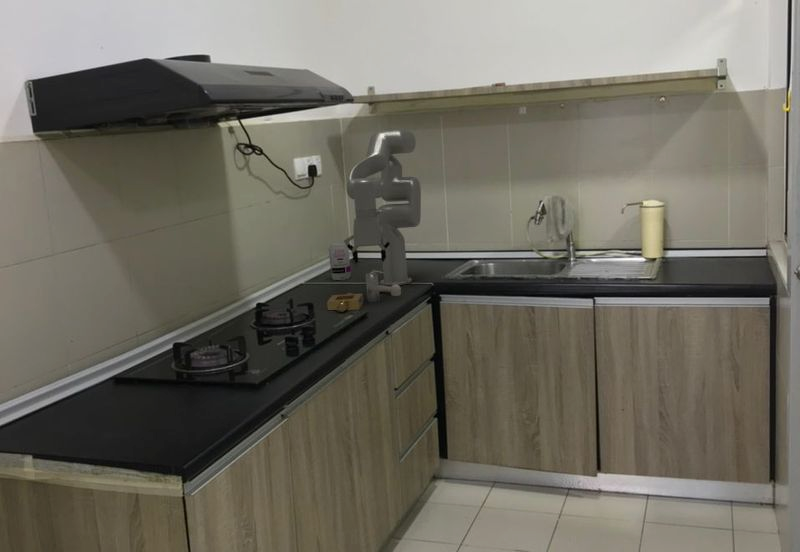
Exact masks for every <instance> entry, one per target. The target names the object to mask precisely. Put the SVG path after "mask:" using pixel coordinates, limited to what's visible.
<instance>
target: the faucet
mask: <svg viewBox="0 0 800 552" xmlns="http://www.w3.org/2000/svg"><path fill="white" fill-rule="evenodd" d="M370 273H380V274H383V275H384V274H385V273H383V271H379V270H375V269H374V270H372V271H371V272H370ZM378 285H379V292H382V293H383V292H390V294H391V296H392V297H396V296H397V297H398V296H401V295H402V288H401V285H397V284H394V285H392V286H387V285H381V284H378Z"/></svg>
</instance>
